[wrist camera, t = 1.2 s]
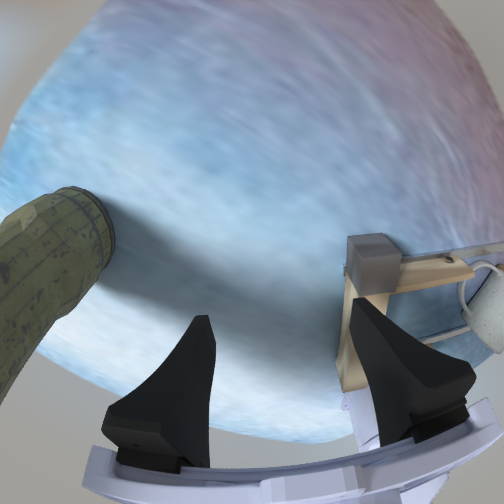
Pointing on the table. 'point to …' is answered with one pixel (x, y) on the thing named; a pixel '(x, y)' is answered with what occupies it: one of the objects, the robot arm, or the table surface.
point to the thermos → (47, 269)
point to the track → (459, 252)
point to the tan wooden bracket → (384, 289)
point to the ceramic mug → (486, 307)
